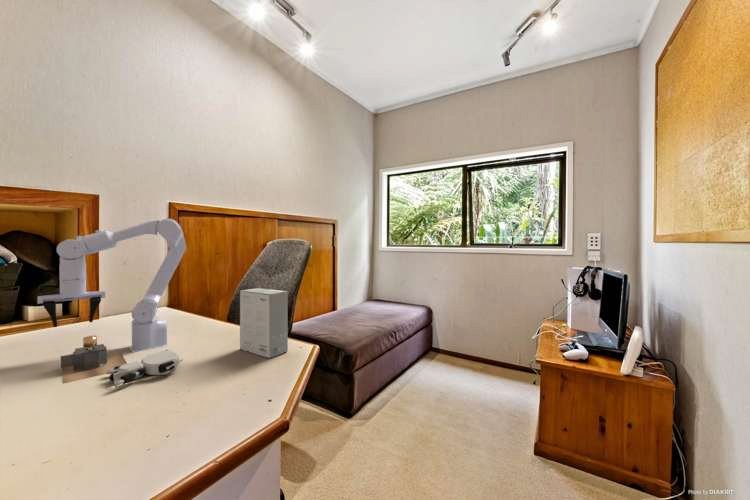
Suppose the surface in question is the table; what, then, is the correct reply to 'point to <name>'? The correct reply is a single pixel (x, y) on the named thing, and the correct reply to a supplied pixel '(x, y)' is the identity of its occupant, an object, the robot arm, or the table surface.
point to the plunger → (89, 341)
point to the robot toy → (145, 367)
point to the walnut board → (112, 362)
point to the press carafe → (86, 358)
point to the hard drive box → (264, 321)
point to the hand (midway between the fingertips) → (73, 324)
